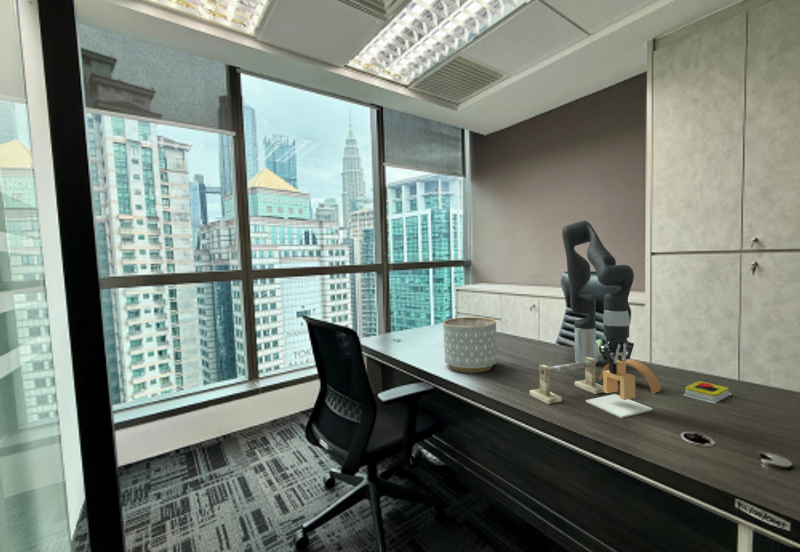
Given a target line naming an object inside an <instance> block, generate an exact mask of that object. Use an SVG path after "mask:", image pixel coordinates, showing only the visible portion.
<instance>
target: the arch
mask: <svg viewBox="0 0 800 552" xmlns="http://www.w3.org/2000/svg"><path fill="white" fill-rule="evenodd" d="M626 366H629V367H632V368H634V369H635V370H636V371H638V372H639V373H640V374H641V375H642V376H644V378H645V379H646V381H647V383H648V385H649V387H650V392H651V393H650V394H653V395H655V394H657V393H658V392H660V391H661V384H660V381H659V380H658V379H659V378H657V376H656V374H655V373H654V372H653V371H652V370H651V369H650V368H649V367H648V366H647V365H645V364H644V363H642V362H641V361H638V360H635V359H631V358H630V359H627V360H626ZM606 370H609V363H607V364H606V365H605V366H604V367H602V369H601V370H600V373H599V377H598V380H599V381H603V371H606Z"/></svg>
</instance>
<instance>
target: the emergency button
mask: <svg viewBox="0 0 800 552" xmlns="http://www.w3.org/2000/svg"><path fill="white" fill-rule="evenodd" d="M731 395H732V393H731V392H729V387H727V386H724V385H723V386H722V385H718V384H714V383H709V382H705V381H700V380H699V381H695V382H693V383H691V384H689V385H686V386H685V393H683V396H684V397H688V398H691V399H695V400H698V401H702V402H707V403H711V404H717V403H718V402H720V401H722V400H724V399H725V398H728V397H729V396H731Z"/></svg>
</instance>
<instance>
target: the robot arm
mask: <svg viewBox="0 0 800 552" xmlns="http://www.w3.org/2000/svg"><path fill="white" fill-rule="evenodd" d="M561 230H562V231H561V235H562V241H563V245H564V246H563V247H564V251H565V256H566V257H565V259H566V267H567V269H566V271H567V277H568V283H569V284H568V286H569V298H570V299H569V301H570V303H569V304H570V310H571V312H573V313H574V314H587V316H586V317H584V318H579V319H577V320H575V321H574V323H573V327H574V328H573V329H574V360H575V362H574V363H576V362H582V361H585V358H586V357H590V358H594V359H595V365H596V364H597V363H599V351H600V354H601V357H602V359H603V361H604V362H608V364H609V371H610V373H612V374H617V364H616V361H617V360H619V361H623V362H626V360H627V359H631V356H632V352H633V350H634V346H635V344H634V342H632V341H628V339H629V338H630V315H629V296H630V293H631V289H632V285H633V283H634V280H635V273H634V270H633V268H632V267H631V266H629V265H628V264H617V261H616V257H614V255H612V254H611V252H610V251H609V250H608V249H607V248H606V247H605V246H604V244H603V243H602V240H601V239H600V237H599V235H598V233H597V232H596V230H595V229H594V227H593V225H592V224H591V223H590V222H588V221H587V220H582V221H581V220H580V221H578V222H574V223H570V224H567V225H565V226H563V227H562V229H561ZM587 243H589V244H588V247H587V251H586V257H587V259H586V258H585V257H584V256H582V255H581V254H580V253H578V252H577V251H576V250H575V247H576V246H579V245H584V244H587ZM589 262H590V263H589ZM591 265H592V266H593V268H594V269H595V274H596V275H597V276H596V278H597V281H598V283H599V284H601V285H603V286H606V287H610V286H611V287H614V286H615V287H616V289H615V290H614V291H610V292H608V293H605V294H604V296H603V335H604V337H605V338H606V339H605V342H604V344H603V345H599V344H598V342H597V325H596V323H597V322H596V311H597V310H596V308H597V300H596V296H595V295H594V294H584V293H583V294H580V291H582V289H584V287H585V286H586V285H588V283H589V282H590V280H591V278H592V277H591V276H592V275H591Z"/></svg>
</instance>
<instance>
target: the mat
mask: <svg viewBox="0 0 800 552" xmlns="http://www.w3.org/2000/svg"><path fill="white" fill-rule="evenodd" d="M585 403H587V404H590V405H591V406H593V407H596V408H598V409H600V410H603V411H604V412H607V413H609V414H611V415H614V416H616V417H618V418H620V419H624V418H628V417H631V416H635V415H639V414H643V413H647V412H651V411H654V409H653V407H650V406H647V405H645V404H641V403H639V402H636V401H634V400H631V399H627V400H623V399H620V394H616V393H613V394H609V395H603V396H600V397H595V398H589V399H586V400H585Z"/></svg>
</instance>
